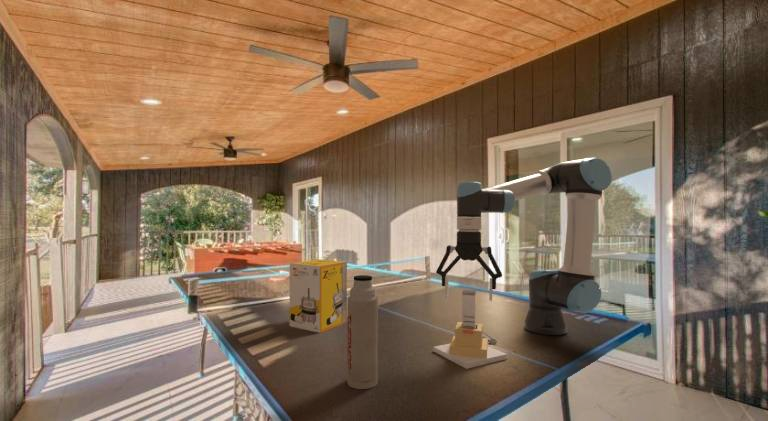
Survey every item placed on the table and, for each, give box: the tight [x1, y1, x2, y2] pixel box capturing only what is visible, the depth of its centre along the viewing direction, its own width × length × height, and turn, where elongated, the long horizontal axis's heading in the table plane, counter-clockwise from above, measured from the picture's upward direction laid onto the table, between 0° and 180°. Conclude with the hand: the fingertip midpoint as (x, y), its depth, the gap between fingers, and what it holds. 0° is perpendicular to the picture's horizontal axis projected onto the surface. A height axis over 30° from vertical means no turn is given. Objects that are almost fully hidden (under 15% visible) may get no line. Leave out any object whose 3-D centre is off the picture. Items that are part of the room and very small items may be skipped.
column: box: [461, 289, 477, 329], centre depth 120 cm, size 4×4×18 cm
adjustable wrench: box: [483, 331, 498, 345], centre depth 142 cm, size 25×6×2 cm, turn 9°
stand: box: [433, 321, 508, 370], centre depth 120 cm, size 23×23×9 cm
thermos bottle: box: [346, 274, 379, 390], centre depth 101 cm, size 8×8×28 cm
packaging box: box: [289, 259, 348, 334], centre depth 154 cm, size 16×16×25 cm
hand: (468, 298), depth 120 cm, fingers open, 13 cm apart
